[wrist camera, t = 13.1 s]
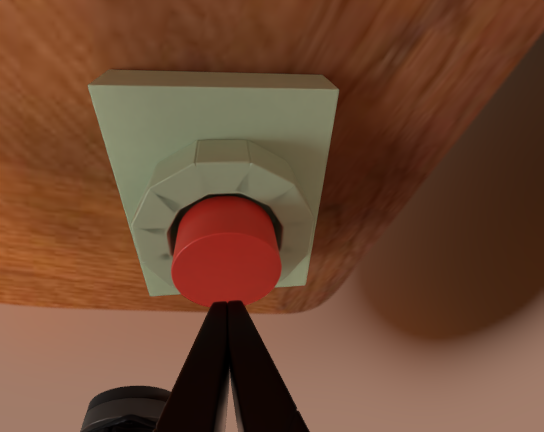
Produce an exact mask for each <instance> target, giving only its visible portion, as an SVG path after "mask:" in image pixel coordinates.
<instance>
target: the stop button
mask: <svg viewBox="0 0 544 432" xmlns="http://www.w3.org/2000/svg"><path fill="white" fill-rule="evenodd" d="M281 271H282V264H281V259H280V255H279V250H278V245H277V241H276V236H275V232H274V227H273V223H272V220H271V218H270V217H269V215H268V214H267V212H266V211H265V210H264V209H263V208H262V207H261V206H259V205H258V204H256V203H254V202H253V201H251V200H248V199H245V198H242V197H237V196H217V197H212V198H208V199H205V200H203V201H201V202H199V203H197V204H196V205H194V206H193V207H192V208H190V209H189V210H188V211H187V212H186V213H185V215H184V216H183V217H182V219H181V221H180V224H179V227H178V233H177V238H176V244H175V249H174V255H173V260H172V266H171V277H172V280H173V283H174V285H175V287H176V288H177V290H178V291H179V292H180V293H181V294H182V295H183V296H184V297H186V298H187V299H189V300H191V301H192V302H195V303H197V304H200V305H203V306H207V307H211V305H212V303H213V302H219V301H226V302H227V303H228V301H232V300H241V301H242V302H243V304H244V305H248V304H251V303H253V302H255V301H257V300H259V299H261V298H263V297H264V296H266V295H267V294H268V293H269V292H270V291H271V290H272V289H273V288H274V287H275V286H276V284H277V282H278V281H279V278H280V276H281Z"/></svg>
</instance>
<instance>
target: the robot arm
mask: <svg viewBox="0 0 544 432" xmlns="http://www.w3.org/2000/svg"><path fill="white" fill-rule="evenodd" d="M230 378H231V386H232V393H233V400H234V407H235V413H236V421H237V428H238V432H310V431H309V429H308V428H307V426H306V424H305V422H304V420H303V418H302V416H301V414H300V412H299V411H297V407H296V405H295V403H294V401H293V399H292V397H291V395H290V393H289V391H288V389H287V388H286V386H285V384H284V382H283V380H282V378H281V376H280V374H279V372H278V370H277V368H276V366H275V364H274V362H273V360H272V358H271V356H270V354H269V353H268V351H267V349H266V347H265V345H264V343H263V341H262V339H261V337H260V335H259V333H258V331H257V329H256V327H255V325H254V323H253V321H252V320H251V318H250V316H249V314H248V312H247V310H246V308H245V306H244V304H243V302H242V301H241V300H232V301H228V303H227V302H226V301H219V302H213V303H212V305H211V307H210V309H209V311H208V313H207V316H206V318H205V320H204V322H203V324H202V327H201V329H200V331H199V333H198V335H197V337H196V339H195V342H194V344H193V346H192V348H191V350H190V352H189V355H188V357H187V359H186V361H185V363H184V365H183V368H182V370H181V372H180V374H179V376H178V378H177V381H176V383H175V385H174V387H173V389H172V392H171V394H170V396H169V398H168V400H167V402H166V404H165V407H164V409H163V411H162V413H161V415H160V417H159V420H158V422H157V423H156V422H153V421H151V420H148V419H145V418H142V417H140V416H137V415H134V414H128V415H125V416H123V417H120V418H118V419H116V420H113V421H111V422H109V423H107V424H104V425H102V426H100V427H97V428H95V429H93V430H91V431H88V432H225V427H226V416H227V403H228V393H229V379H230Z"/></svg>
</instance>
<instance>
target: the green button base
mask: <svg viewBox="0 0 544 432" xmlns="http://www.w3.org/2000/svg"><path fill="white" fill-rule="evenodd" d="M88 88H89V92H90V95H91V99H92V102H93V105H94V109H95V112H96V116H97V119H98V122H99V126H100V129H101V132H102V136H103V139H104V143H105V146H106V149H107V153H108V156H109V160H110V163H111V166H112V170H113V173H114V176H115V180H116V183H117V187H118V190H119V193H120V197H121V200H122V204H123V207H124V210H125V214H126V217H127V221H128V224H129V227H130V231H131V234H132V237H133V241H134V244H135V248H136V251H137V254H138V258H139V261H140V265H141V268H142V271H143V275H144V278H145V281H146V285H147V288H148V292H149V295H150V296H162V295H176V294H181V293H180V292H179V291H178V290H177V288H176V287H175V285H174V283H173V280H172V277H171V266H172V260H173V255H174V249H175V244H176V238H177V233H178V227H179V224H180V221H181V219H182V217H183V216H184V215H185V213H186V212H187V211H188V210H189V209H190V208H192V207H193V206H194V205H196V204H197V203H199V202H201V201H203V200H205V199H208V198H212V197H217V196H237V197H242V198H245V199H248V200H251V201H253V202H254V203H256V204H258V205H259V206H261V207H262V208H263V209H264V210H265V211H266V212H267V214H268V215H269V217H270V218H271V220H272V223H273V227H274V232H275V236H276V241H277V245H278V250H279V255H280V259H281V264H282V271H281V276H280V278H279V281H278V282H277V284H276V286H275V287H287V286H301V285H306V279H307V274H308V268H309V262H310V256H311V250H312V245H313V239H314V233H315V227H316V222H317V216H318V210H319V204H320V199H321V193H322V187H323V181H324V176H325V170H326V164H327V158H328V153H329V147H330V141H331V135H332V130H333V124H334V118H335V112H336V106H337V101H338V95H339V89H338V88H337V87H336V86H335V85H333V84H332V83H331V82H330V81H329V80H328V79H327V78H325V77H324V76H323V75H309V74H269V73H228V72H188V71H147V70H108V71H106V72H105V73H103V74H102V75H101V76H99V77H98V78H97V79H95V80H94V81H93V82H91V83H90V84H88Z"/></svg>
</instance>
